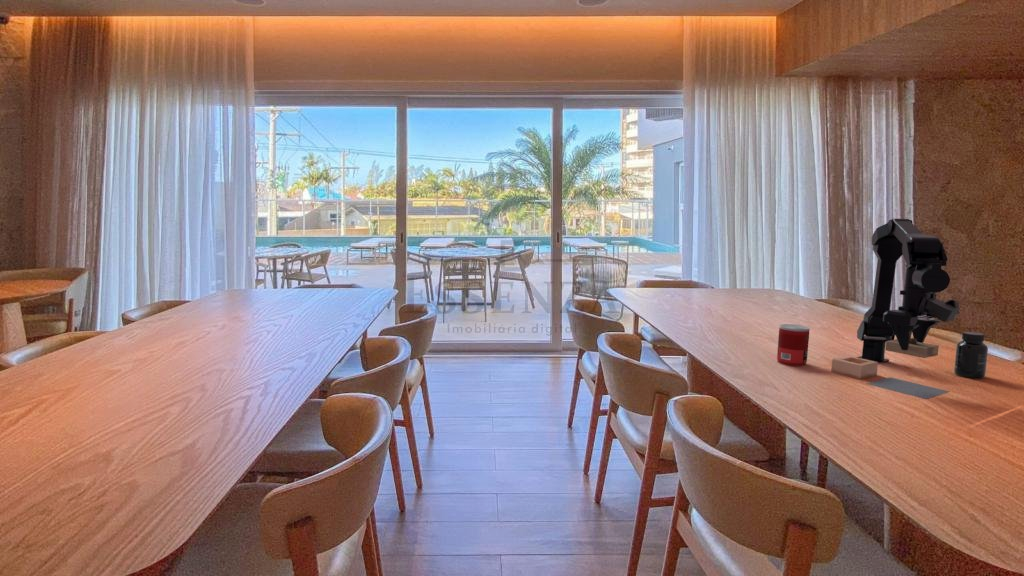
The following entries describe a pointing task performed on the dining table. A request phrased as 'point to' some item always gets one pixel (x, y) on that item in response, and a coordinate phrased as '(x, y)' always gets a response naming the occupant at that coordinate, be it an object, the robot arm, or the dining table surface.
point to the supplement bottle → (971, 356)
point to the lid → (913, 348)
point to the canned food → (793, 344)
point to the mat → (908, 388)
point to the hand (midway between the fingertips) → (911, 348)
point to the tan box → (854, 367)
